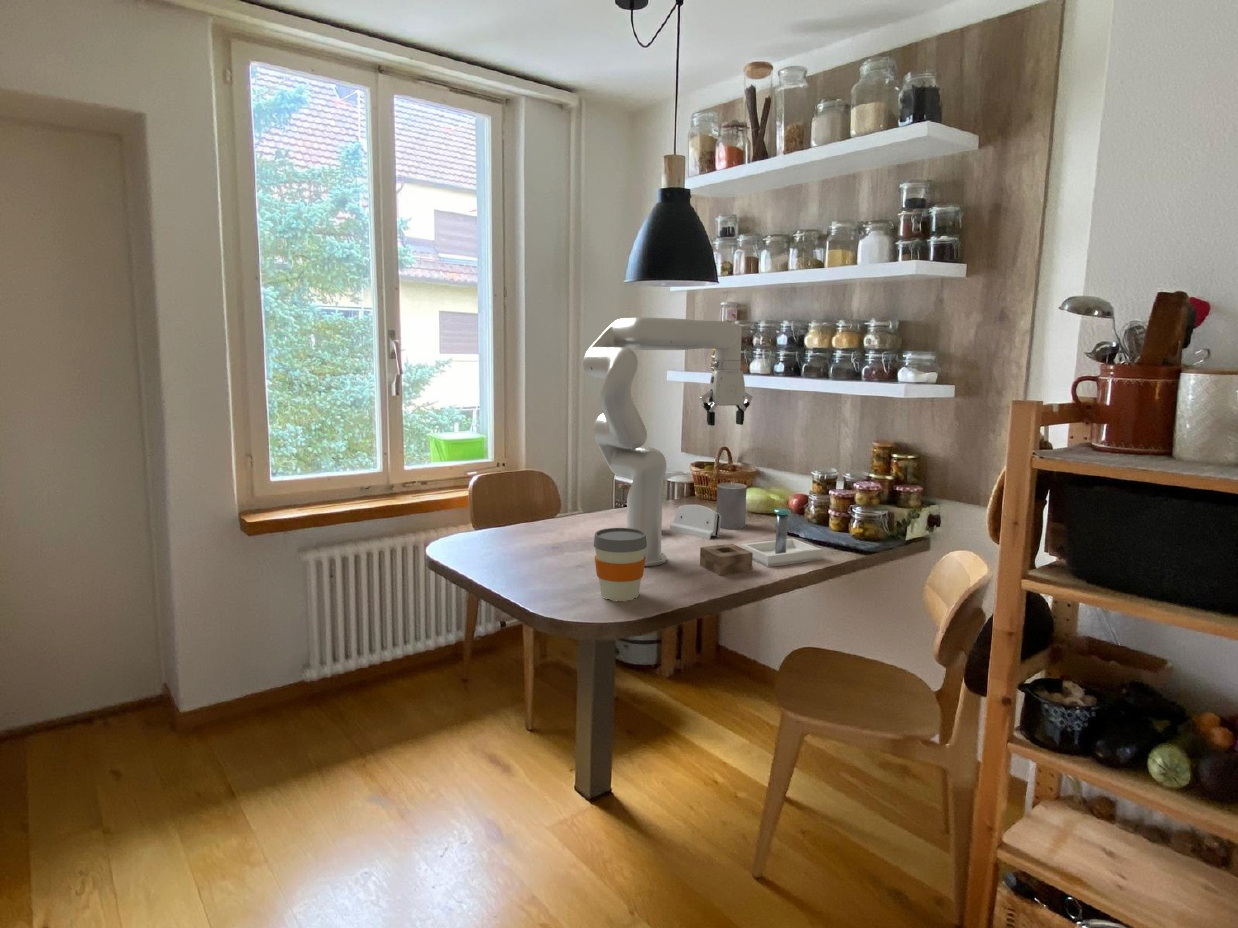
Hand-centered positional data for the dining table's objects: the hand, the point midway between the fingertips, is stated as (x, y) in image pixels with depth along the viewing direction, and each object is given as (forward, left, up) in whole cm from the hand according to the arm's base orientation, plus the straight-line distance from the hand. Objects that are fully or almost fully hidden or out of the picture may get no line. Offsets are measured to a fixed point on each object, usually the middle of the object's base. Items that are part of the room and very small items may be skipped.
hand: (725, 424), depth 221 cm
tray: (+7, -20, -36) cm, 42 cm away
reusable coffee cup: (-48, -32, -36) cm, 68 cm away
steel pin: (+7, -20, -35) cm, 41 cm away
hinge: (-1, +13, -36) cm, 38 cm away
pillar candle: (+14, +17, -36) cm, 42 cm away
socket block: (-13, -23, -36) cm, 45 cm away
